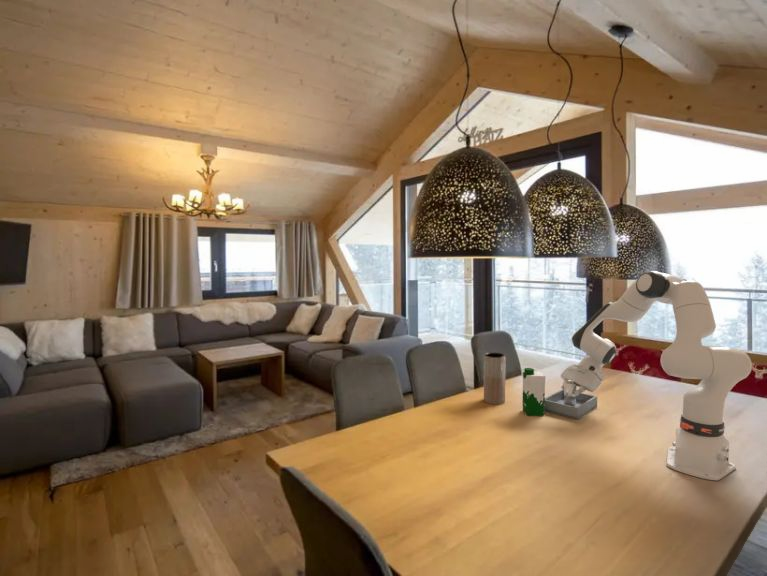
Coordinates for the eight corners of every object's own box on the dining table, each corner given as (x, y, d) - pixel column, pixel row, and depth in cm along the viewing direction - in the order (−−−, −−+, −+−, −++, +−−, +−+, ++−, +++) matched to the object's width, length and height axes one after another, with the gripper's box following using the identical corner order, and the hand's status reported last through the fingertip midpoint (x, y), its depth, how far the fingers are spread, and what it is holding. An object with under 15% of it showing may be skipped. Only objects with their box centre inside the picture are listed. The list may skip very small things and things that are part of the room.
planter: (486, 396, 215) (486, 351, 214) (506, 399, 211) (507, 353, 209) (481, 402, 206) (481, 355, 205) (502, 405, 202) (503, 357, 200)
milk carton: (520, 409, 196) (520, 366, 195) (540, 409, 196) (540, 366, 195) (526, 416, 188) (526, 371, 186) (547, 416, 188) (547, 371, 186)
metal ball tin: (573, 409, 194) (573, 382, 193) (561, 406, 197) (562, 380, 196) (578, 406, 197) (578, 380, 196) (566, 403, 201) (567, 378, 200)
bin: (577, 419, 184) (577, 408, 184) (541, 410, 195) (541, 399, 195) (597, 406, 199) (597, 396, 199) (562, 398, 211) (562, 388, 210)
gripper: (568, 359, 208) (550, 381, 206) (599, 370, 188) (579, 394, 186) (576, 367, 209) (558, 389, 207) (608, 379, 189) (588, 403, 188)
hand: (568, 391), depth 197 cm, fingers open, 7 cm apart
